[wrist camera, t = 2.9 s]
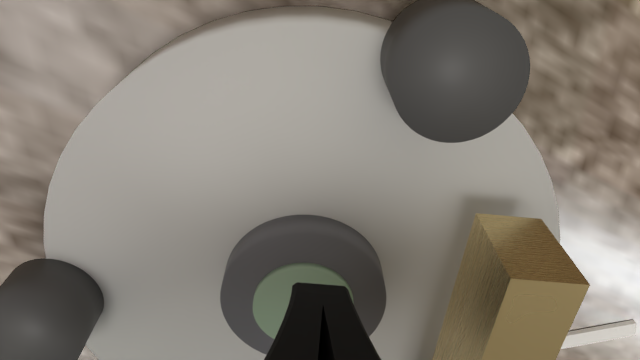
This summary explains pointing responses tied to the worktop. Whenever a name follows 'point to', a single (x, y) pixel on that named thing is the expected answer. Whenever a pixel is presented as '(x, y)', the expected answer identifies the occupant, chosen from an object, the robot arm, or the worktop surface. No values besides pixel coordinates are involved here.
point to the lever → (511, 293)
